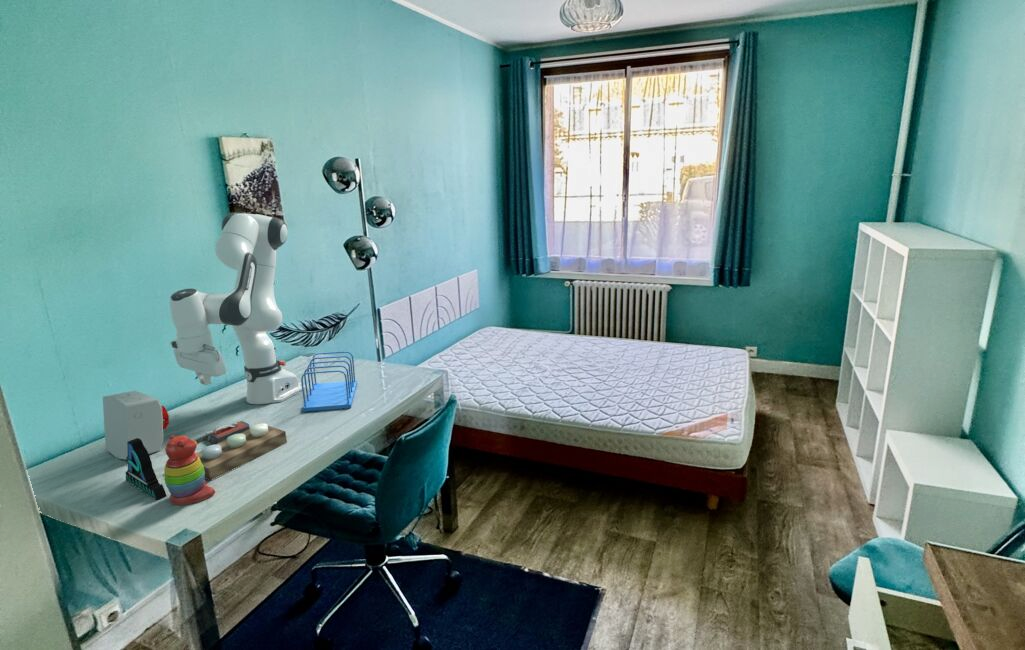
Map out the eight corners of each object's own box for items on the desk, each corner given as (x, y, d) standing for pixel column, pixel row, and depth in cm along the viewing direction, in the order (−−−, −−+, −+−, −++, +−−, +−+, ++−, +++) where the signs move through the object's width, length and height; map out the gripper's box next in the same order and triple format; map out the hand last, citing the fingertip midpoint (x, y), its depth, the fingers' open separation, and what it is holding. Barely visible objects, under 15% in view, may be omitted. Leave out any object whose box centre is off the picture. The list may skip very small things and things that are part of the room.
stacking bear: (217, 494, 148) (206, 436, 143) (177, 511, 141) (163, 450, 136) (203, 480, 155) (192, 424, 150) (163, 496, 148) (150, 437, 143)
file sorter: (351, 408, 201) (347, 370, 197) (302, 413, 198) (297, 374, 194) (357, 384, 225) (353, 349, 220) (314, 387, 222) (309, 352, 218)
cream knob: (263, 436, 178) (260, 422, 177) (273, 439, 175) (271, 425, 174) (249, 443, 174) (246, 428, 172) (259, 446, 171) (256, 432, 170)
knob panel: (263, 434, 182) (261, 423, 181) (286, 442, 176) (285, 431, 175) (186, 470, 160) (184, 458, 159) (210, 480, 154) (208, 468, 153)
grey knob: (217, 458, 165) (214, 443, 163) (227, 462, 162) (224, 446, 161) (200, 466, 160) (197, 450, 159) (211, 470, 158) (208, 454, 156)
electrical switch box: (179, 449, 177) (177, 391, 174) (129, 464, 164) (125, 401, 162) (155, 439, 184) (153, 383, 182) (105, 452, 172) (102, 392, 169)
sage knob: (241, 446, 171) (238, 432, 170) (251, 450, 169) (248, 435, 167) (225, 454, 167) (223, 439, 166) (236, 458, 164) (233, 442, 163)
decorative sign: (126, 480, 156) (114, 434, 152) (135, 476, 158) (124, 430, 154) (157, 501, 145) (145, 451, 141) (166, 496, 147) (155, 447, 143)
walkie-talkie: (241, 425, 190) (181, 448, 174) (239, 413, 189) (179, 436, 173) (255, 431, 185) (195, 456, 169) (253, 419, 184) (192, 443, 168)
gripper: (226, 344, 161) (236, 385, 165) (186, 335, 170) (196, 374, 175) (206, 351, 156) (216, 394, 160) (166, 341, 165) (177, 382, 170)
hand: (206, 384), depth 168 cm, fingers closed
